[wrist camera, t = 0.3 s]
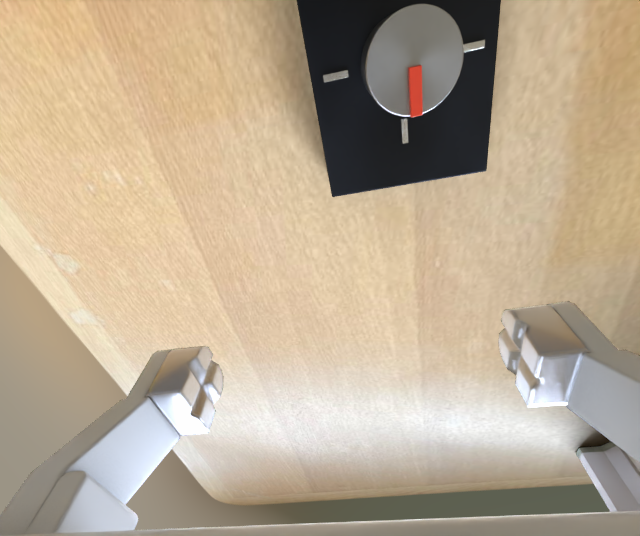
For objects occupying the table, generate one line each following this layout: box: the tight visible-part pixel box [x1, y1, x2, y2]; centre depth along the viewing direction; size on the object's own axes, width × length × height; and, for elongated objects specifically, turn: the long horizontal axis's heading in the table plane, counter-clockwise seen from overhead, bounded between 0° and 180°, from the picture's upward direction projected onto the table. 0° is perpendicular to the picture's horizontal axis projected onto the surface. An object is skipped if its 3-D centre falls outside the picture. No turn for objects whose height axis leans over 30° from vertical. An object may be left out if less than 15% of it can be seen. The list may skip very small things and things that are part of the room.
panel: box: [297, 0, 501, 197], centre depth 19 cm, size 14×10×3 cm
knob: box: [361, 4, 464, 117], centre depth 16 cm, size 4×4×4 cm
